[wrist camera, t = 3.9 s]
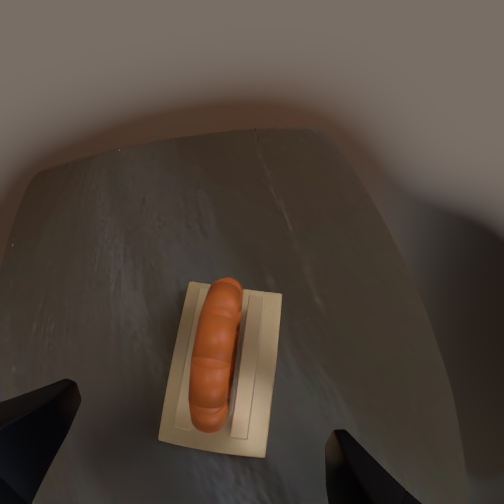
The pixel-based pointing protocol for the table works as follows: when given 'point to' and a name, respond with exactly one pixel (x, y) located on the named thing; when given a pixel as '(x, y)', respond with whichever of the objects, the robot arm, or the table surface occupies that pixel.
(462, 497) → the table surface
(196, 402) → the ring
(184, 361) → the stand
